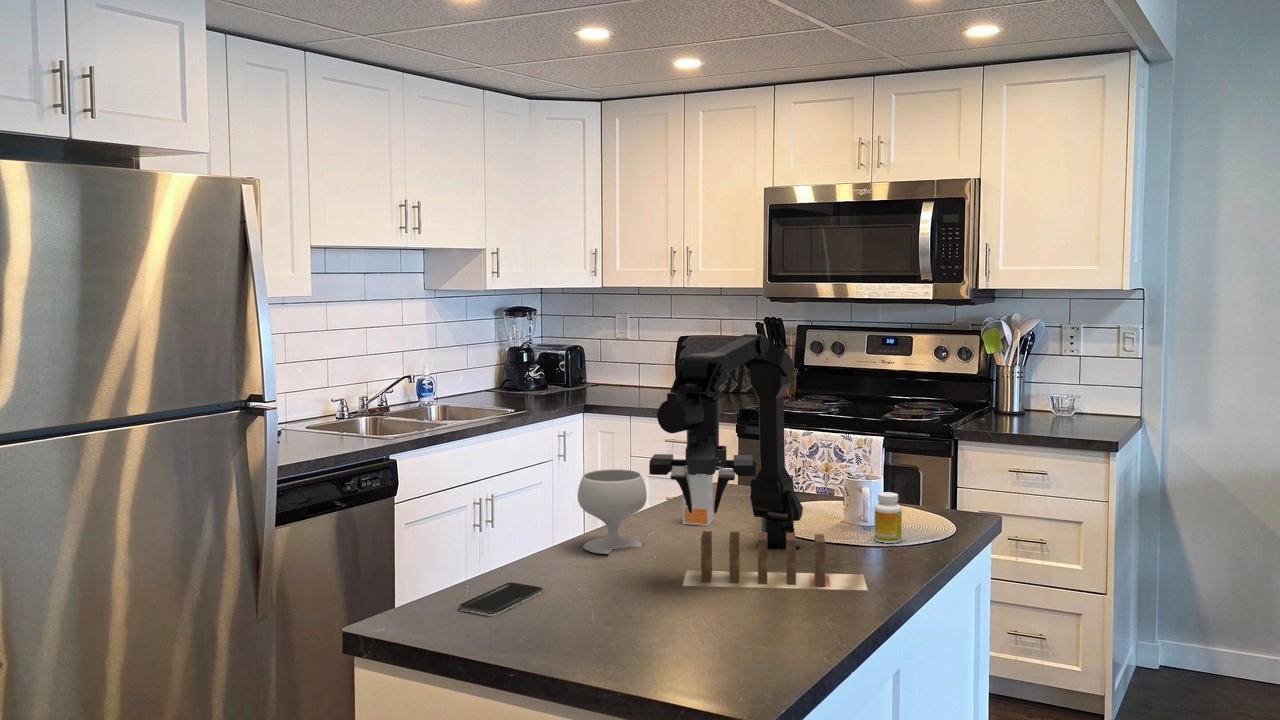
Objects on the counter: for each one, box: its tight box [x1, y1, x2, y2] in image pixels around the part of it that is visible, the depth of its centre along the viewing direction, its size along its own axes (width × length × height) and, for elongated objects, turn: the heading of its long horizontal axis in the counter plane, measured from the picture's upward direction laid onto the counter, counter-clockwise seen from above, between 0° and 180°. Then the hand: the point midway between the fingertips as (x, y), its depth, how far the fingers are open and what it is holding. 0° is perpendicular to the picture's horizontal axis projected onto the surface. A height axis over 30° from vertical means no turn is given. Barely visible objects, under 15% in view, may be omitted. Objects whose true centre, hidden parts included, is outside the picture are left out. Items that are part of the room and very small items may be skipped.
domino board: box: [682, 569, 869, 591], centre depth 188 cm, size 32×9×1 cm, turn 83°
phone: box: [458, 582, 544, 614], centre depth 182 cm, size 8×1×15 cm
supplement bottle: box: [873, 491, 903, 544], centre depth 216 cm, size 5×5×10 cm
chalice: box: [577, 468, 648, 555], centre depth 213 cm, size 14×14×15 cm
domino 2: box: [728, 531, 741, 583], centre depth 188 cm, size 2×5×8 cm, turn 172°
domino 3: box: [757, 531, 768, 584], centre depth 188 cm, size 2×5×8 cm, turn 173°
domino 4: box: [785, 532, 797, 585], centre depth 187 cm, size 2×5×8 cm, turn 173°
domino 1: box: [700, 530, 713, 583], centre depth 189 cm, size 2×5×8 cm, turn 173°
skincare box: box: [682, 474, 714, 527], centre depth 232 cm, size 6×4×12 cm
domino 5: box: [814, 533, 826, 587], centre depth 186 cm, size 2×5×8 cm, turn 173°
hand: (703, 512), depth 188 cm, fingers open, 4 cm apart
